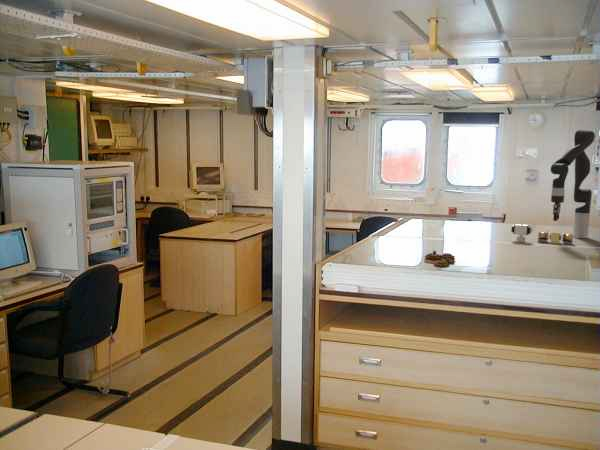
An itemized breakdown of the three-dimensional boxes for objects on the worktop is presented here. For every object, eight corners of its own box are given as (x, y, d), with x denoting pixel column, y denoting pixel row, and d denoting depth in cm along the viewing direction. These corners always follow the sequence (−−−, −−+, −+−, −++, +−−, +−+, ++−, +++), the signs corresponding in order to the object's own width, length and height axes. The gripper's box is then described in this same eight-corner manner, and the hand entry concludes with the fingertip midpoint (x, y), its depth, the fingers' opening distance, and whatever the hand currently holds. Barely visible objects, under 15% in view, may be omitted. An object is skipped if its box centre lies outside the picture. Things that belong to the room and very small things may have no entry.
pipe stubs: (539, 241, 401) (539, 230, 400) (572, 243, 391) (573, 232, 390) (537, 242, 396) (538, 231, 395) (571, 245, 386) (572, 233, 385)
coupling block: (561, 243, 394) (561, 232, 393) (560, 244, 390) (560, 233, 389) (550, 242, 397) (550, 231, 396) (549, 243, 393) (549, 232, 392)
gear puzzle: (455, 269, 308) (456, 261, 307) (423, 267, 311) (423, 259, 311) (454, 258, 338) (454, 251, 337) (424, 256, 341) (424, 249, 341)
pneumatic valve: (529, 242, 392) (530, 224, 391) (510, 241, 399) (511, 222, 397) (531, 241, 397) (532, 223, 395) (512, 240, 403) (513, 222, 402)
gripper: (562, 196, 382) (560, 221, 384) (565, 194, 394) (563, 219, 396) (549, 195, 385) (548, 220, 388) (553, 193, 397) (551, 218, 400)
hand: (556, 220), depth 392 cm, fingers open, 8 cm apart
